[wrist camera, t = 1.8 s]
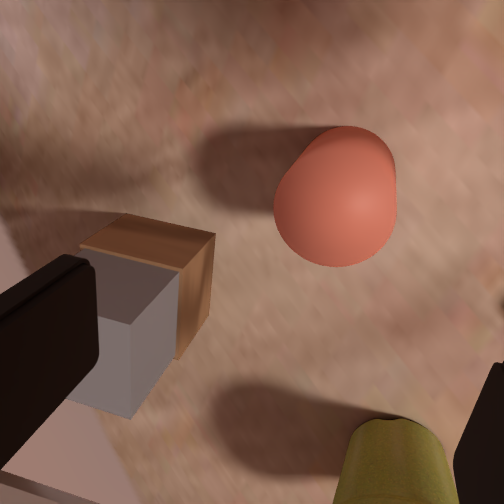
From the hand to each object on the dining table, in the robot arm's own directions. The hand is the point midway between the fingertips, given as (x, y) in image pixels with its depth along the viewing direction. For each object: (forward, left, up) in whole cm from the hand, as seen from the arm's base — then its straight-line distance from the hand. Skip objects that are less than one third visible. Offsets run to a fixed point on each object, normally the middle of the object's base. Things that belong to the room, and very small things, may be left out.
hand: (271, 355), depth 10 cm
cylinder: (0, 0, -15) cm, 15 cm away
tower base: (+8, -10, -16) cm, 20 cm away
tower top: (+8, -10, -11) cm, 16 cm away
